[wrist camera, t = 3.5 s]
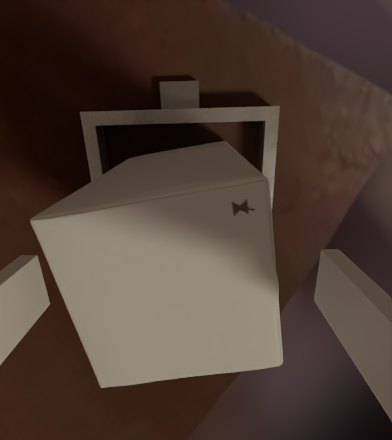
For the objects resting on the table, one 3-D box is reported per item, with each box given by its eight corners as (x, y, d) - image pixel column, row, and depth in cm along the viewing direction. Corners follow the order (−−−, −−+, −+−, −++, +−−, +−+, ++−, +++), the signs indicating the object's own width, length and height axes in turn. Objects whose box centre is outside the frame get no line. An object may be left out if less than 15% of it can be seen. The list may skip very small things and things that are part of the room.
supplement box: (124, 156, 23) (16, 212, 9) (226, 138, 23) (276, 169, 9) (148, 248, 26) (94, 395, 12) (238, 235, 26) (288, 371, 12)
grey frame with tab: (85, 85, 21) (74, 82, 19) (274, 79, 21) (282, 75, 19) (116, 287, 28) (111, 299, 26) (260, 284, 28) (265, 296, 26)
